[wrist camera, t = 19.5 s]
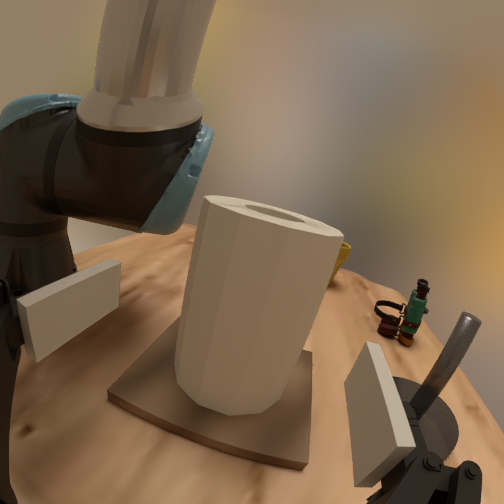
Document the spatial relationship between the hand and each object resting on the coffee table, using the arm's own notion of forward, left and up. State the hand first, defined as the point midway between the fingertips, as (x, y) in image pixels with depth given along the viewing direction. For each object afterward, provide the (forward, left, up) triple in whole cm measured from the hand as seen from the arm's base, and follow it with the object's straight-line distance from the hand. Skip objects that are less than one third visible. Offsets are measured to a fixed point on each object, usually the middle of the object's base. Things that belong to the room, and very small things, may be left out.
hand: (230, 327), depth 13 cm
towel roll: (0, +8, -10) cm, 13 cm away
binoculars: (+24, +31, -12) cm, 41 cm away
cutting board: (0, +8, -11) cm, 14 cm away
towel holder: (+20, +8, -11) cm, 24 cm away
